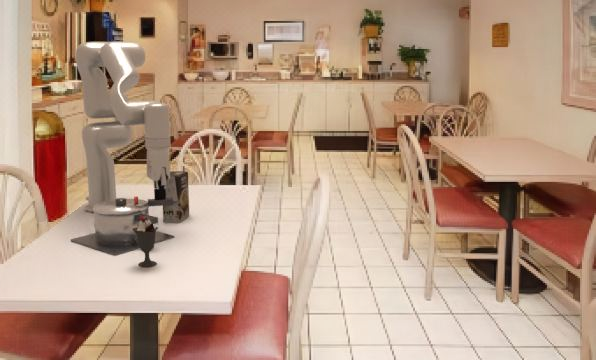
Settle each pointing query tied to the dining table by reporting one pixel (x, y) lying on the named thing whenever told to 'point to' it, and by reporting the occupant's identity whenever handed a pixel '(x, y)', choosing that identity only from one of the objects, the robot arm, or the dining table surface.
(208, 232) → the dining table surface
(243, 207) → the dining table surface
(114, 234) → the cooker
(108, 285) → the dining table surface
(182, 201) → the coffee box
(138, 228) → the sundae
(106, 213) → the lid
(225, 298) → the dining table surface
